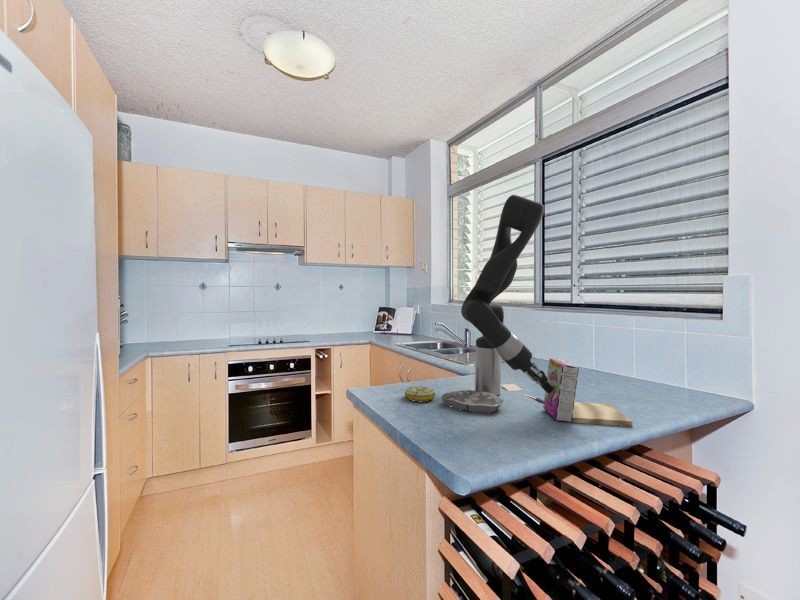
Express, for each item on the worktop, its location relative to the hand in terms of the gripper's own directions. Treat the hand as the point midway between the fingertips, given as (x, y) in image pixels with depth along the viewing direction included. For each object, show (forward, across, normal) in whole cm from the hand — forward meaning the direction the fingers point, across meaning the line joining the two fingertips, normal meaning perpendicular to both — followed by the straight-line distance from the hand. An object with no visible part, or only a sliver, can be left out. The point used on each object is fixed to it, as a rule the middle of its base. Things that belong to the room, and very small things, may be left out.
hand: (550, 390), depth 112 cm
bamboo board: (+15, 0, -4) cm, 16 cm away
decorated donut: (-20, +20, +32) cm, 43 cm away
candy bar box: (+7, 0, +4) cm, 8 cm away
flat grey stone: (-8, +12, +20) cm, 25 cm away
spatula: (+9, +20, +4) cm, 22 cm away
